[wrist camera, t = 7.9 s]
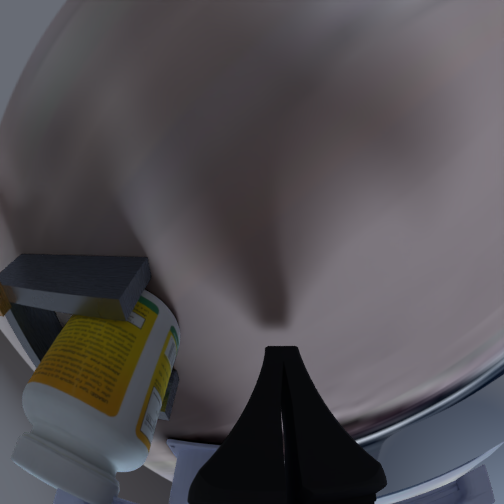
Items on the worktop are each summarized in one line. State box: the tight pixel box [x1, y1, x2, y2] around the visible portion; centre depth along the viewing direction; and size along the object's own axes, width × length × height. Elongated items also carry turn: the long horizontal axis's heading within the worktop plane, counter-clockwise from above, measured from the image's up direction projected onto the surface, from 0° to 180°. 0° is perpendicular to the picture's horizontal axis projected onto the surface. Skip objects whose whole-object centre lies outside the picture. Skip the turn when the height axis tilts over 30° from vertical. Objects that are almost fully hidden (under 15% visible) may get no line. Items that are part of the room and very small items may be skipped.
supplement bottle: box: [11, 290, 180, 504], centre depth 9 cm, size 5×5×10 cm
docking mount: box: [0, 254, 179, 421], centre depth 12 cm, size 9×9×4 cm
